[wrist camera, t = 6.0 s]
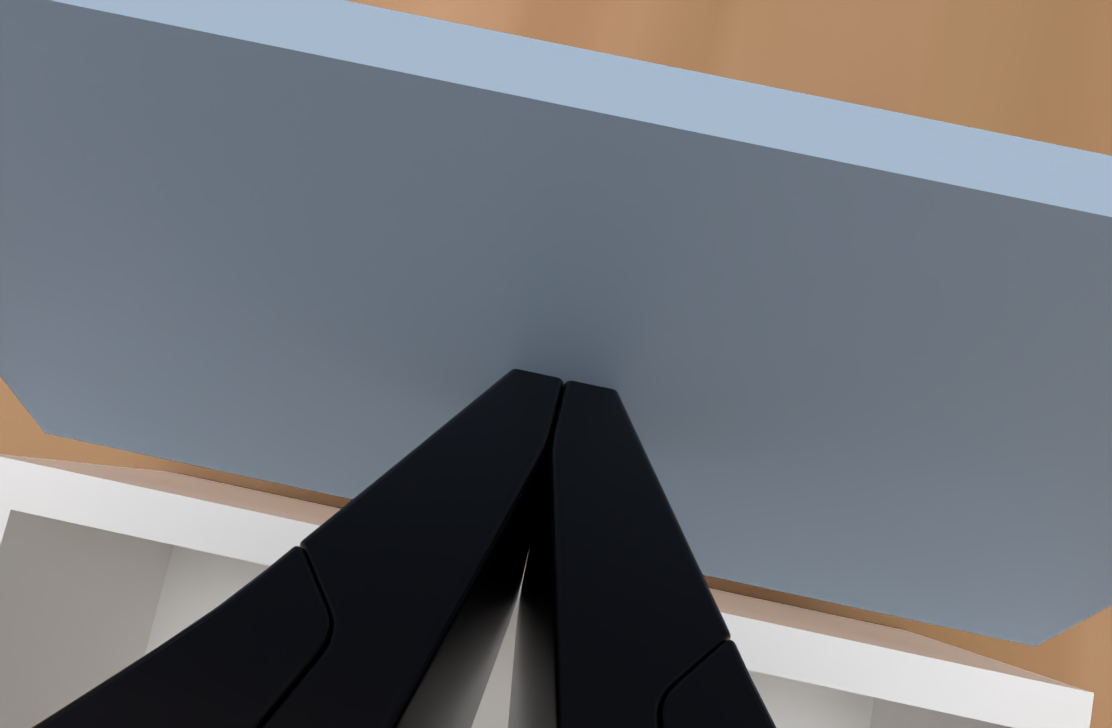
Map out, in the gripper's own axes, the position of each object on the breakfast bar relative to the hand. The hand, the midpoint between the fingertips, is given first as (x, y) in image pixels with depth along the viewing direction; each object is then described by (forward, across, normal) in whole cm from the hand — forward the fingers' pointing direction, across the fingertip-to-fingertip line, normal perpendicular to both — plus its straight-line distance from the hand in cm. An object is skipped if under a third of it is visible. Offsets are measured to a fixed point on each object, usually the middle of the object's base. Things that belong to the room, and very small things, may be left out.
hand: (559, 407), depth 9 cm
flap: (+1, 0, +3) cm, 3 cm away
